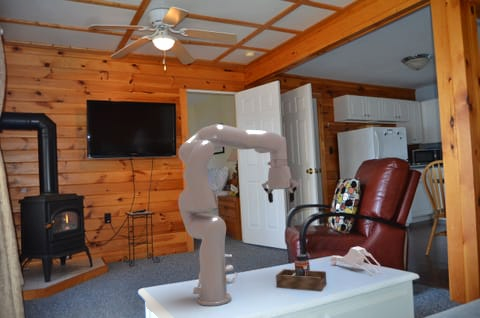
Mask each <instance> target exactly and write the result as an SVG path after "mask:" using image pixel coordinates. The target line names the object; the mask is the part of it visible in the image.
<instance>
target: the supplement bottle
mask: <svg viewBox="0 0 480 318" xmlns="http://www.w3.org/2000/svg"><path fill="white" fill-rule="evenodd" d="M294 270H295V276H309V277H310V271H311V268H310V261H309V260H308V258H307V254H297V255H296V260H294Z"/></svg>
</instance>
